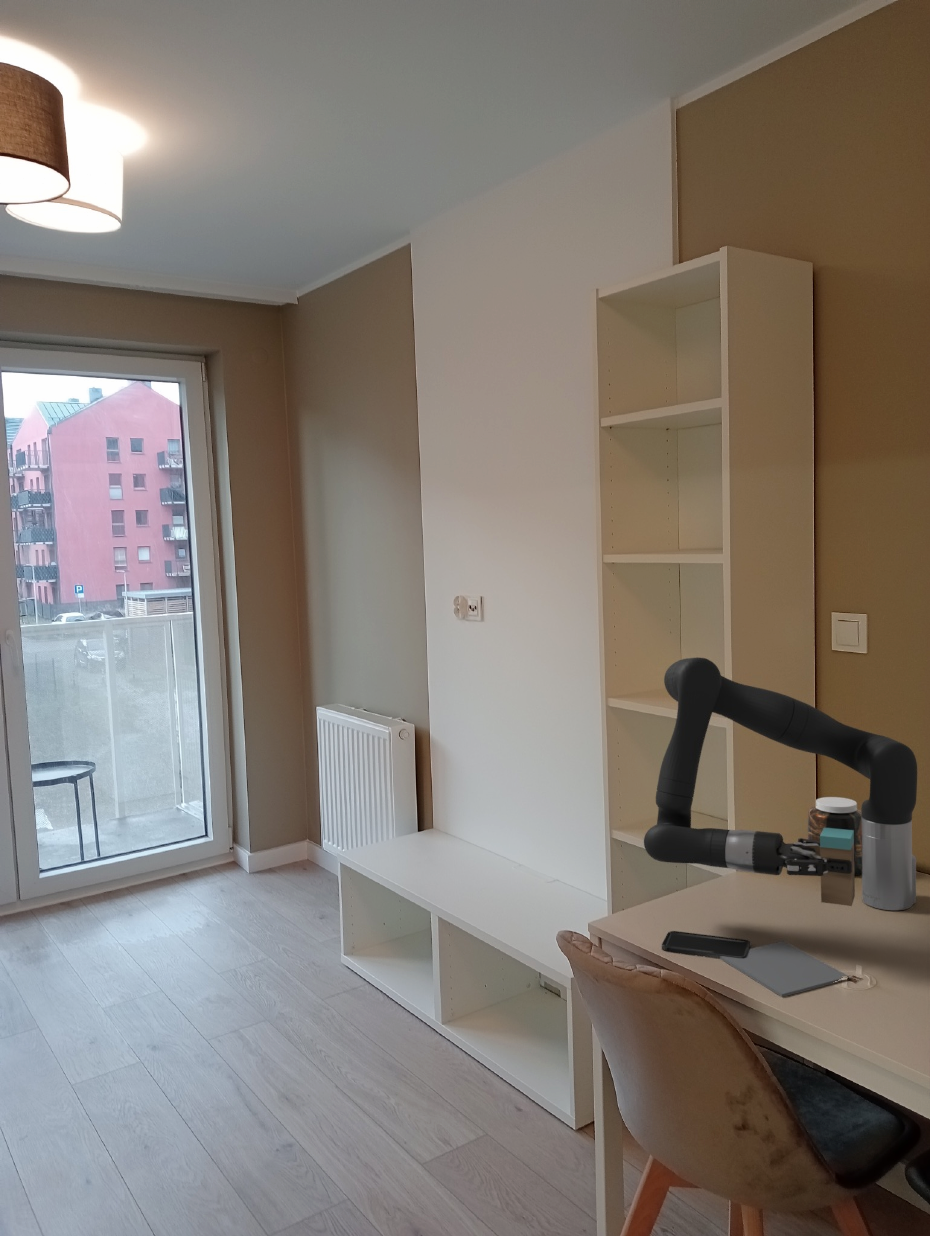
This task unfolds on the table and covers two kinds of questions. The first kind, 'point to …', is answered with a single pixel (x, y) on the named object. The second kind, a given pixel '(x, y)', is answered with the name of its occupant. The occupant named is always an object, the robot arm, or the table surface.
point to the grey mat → (784, 969)
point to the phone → (705, 945)
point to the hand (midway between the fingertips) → (853, 862)
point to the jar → (837, 822)
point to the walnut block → (832, 883)
